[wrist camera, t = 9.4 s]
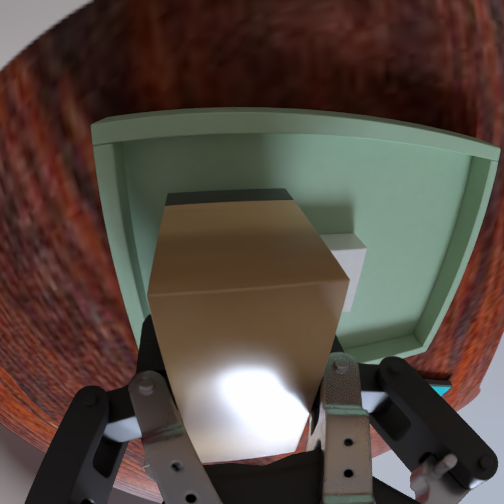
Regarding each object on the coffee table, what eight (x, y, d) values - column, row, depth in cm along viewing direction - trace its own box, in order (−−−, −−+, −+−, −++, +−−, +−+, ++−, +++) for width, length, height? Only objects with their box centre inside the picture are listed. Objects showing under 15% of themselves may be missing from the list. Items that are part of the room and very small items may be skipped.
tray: (106, 117, 11) (89, 124, 9) (476, 137, 14) (501, 148, 12) (156, 369, 19) (154, 395, 17) (413, 333, 22) (426, 351, 20)
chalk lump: (277, 236, 14) (285, 253, 13) (354, 232, 15) (367, 247, 14) (272, 302, 17) (278, 321, 15) (340, 294, 17) (350, 312, 16)
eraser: (167, 192, 11) (145, 295, 6) (285, 187, 12) (351, 279, 7) (191, 365, 16) (197, 463, 11) (270, 358, 17) (295, 451, 12)
